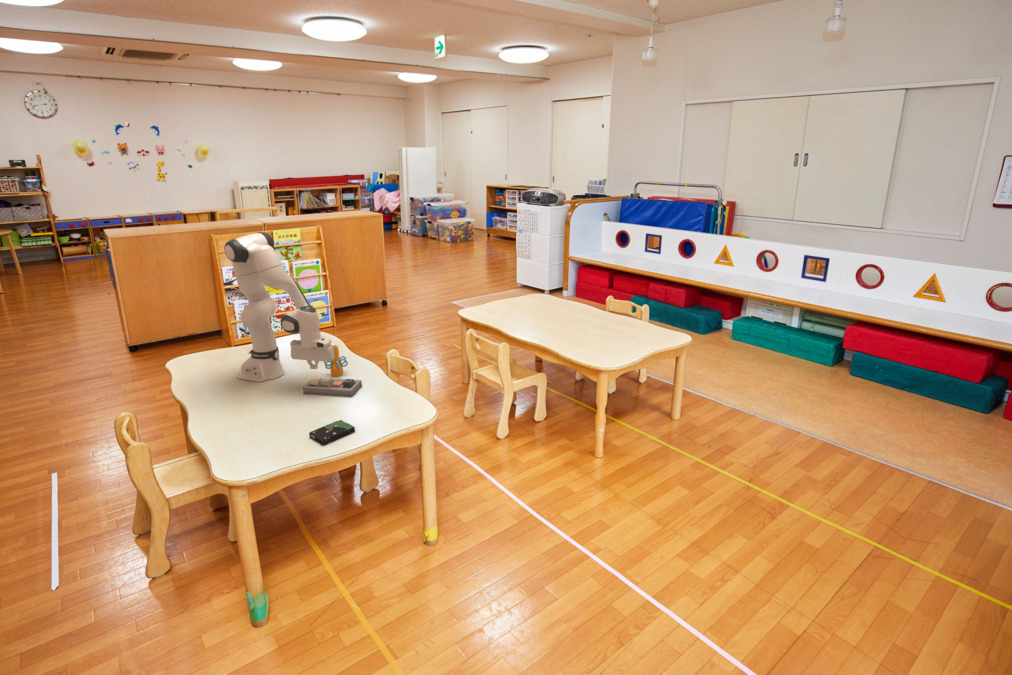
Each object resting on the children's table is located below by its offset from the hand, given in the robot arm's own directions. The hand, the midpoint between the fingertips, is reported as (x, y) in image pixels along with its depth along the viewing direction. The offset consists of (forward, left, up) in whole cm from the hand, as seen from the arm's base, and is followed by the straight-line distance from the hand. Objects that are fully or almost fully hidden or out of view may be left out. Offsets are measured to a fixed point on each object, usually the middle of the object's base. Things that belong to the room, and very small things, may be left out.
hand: (314, 368), depth 262 cm
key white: (0, 0, -7) cm, 8 cm away
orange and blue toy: (+2, +18, -11) cm, 21 cm away
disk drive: (+26, -40, -11) cm, 49 cm away
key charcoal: (+17, 0, -8) cm, 18 cm away
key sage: (+6, 0, -8) cm, 9 cm away
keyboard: (+8, 0, -11) cm, 13 cm away
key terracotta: (+11, 0, -9) cm, 14 cm away
